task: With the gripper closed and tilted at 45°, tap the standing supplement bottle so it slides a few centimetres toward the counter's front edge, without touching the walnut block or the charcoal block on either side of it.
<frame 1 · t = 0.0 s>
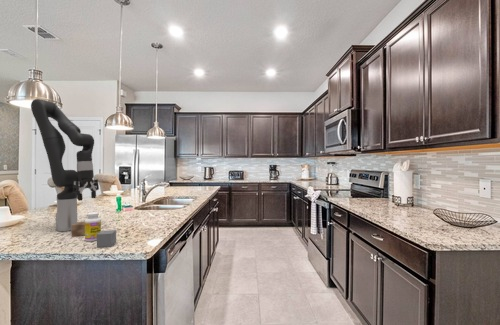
hand: (87, 199, 137), 17 cm above the countertop, tool pointing down, fingers open, 8 cm apart
walnut block: (81, 234, 130), on the countertop
supplement bottle: (93, 240, 122), on the countertop
charcoal block: (106, 245, 114), on the countertop
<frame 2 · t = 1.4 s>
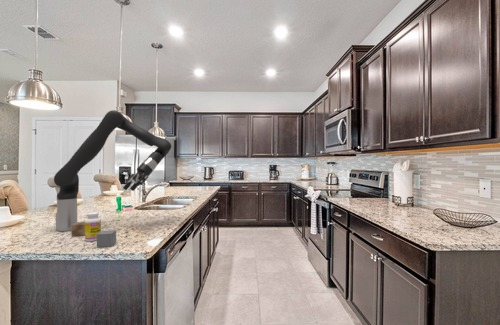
hand: (128, 189, 136), 23 cm above the countertop, tool tilted 45°, fingers open, 7 cm apart
nothing on the countertop moved.
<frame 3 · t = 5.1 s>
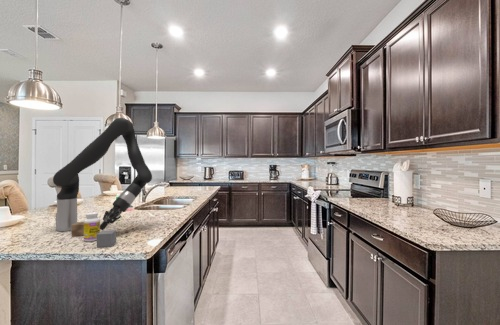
hand: (100, 229, 124), 4 cm above the countertop, tool tilted 45°, fingers closed
supplement bottle: (92, 240, 121), on the countertop, touching gripper
everything else where it was.
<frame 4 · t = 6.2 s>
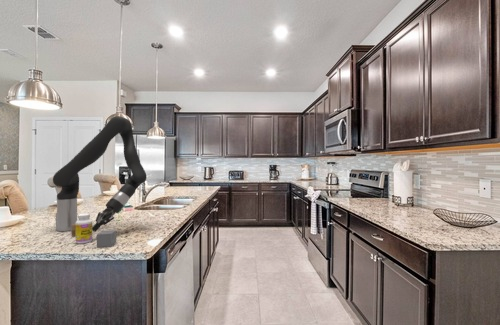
hand: (93, 230, 122), 4 cm above the countertop, tool tilted 45°, fingers closed
supplement bottle: (84, 242, 118), on the countertop, touching gripper
everything else where it was.
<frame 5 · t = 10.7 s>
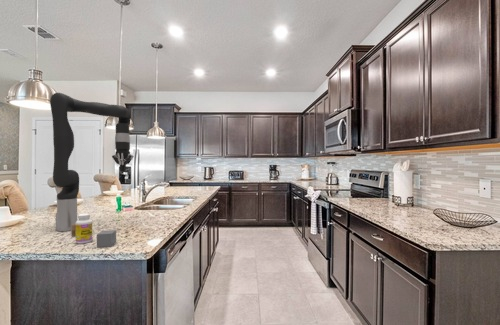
hand: (122, 171, 144), 32 cm above the countertop, tool pointing down, fingers closed
supplement bottle: (84, 242, 118), on the countertop
everything else where it was.
at the end: supplement bottle inside the target area (1.6 cm from its centre), on the countertop; walnut block moved 0.1 cm from its start; charcoal block moved 0.1 cm from its start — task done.
